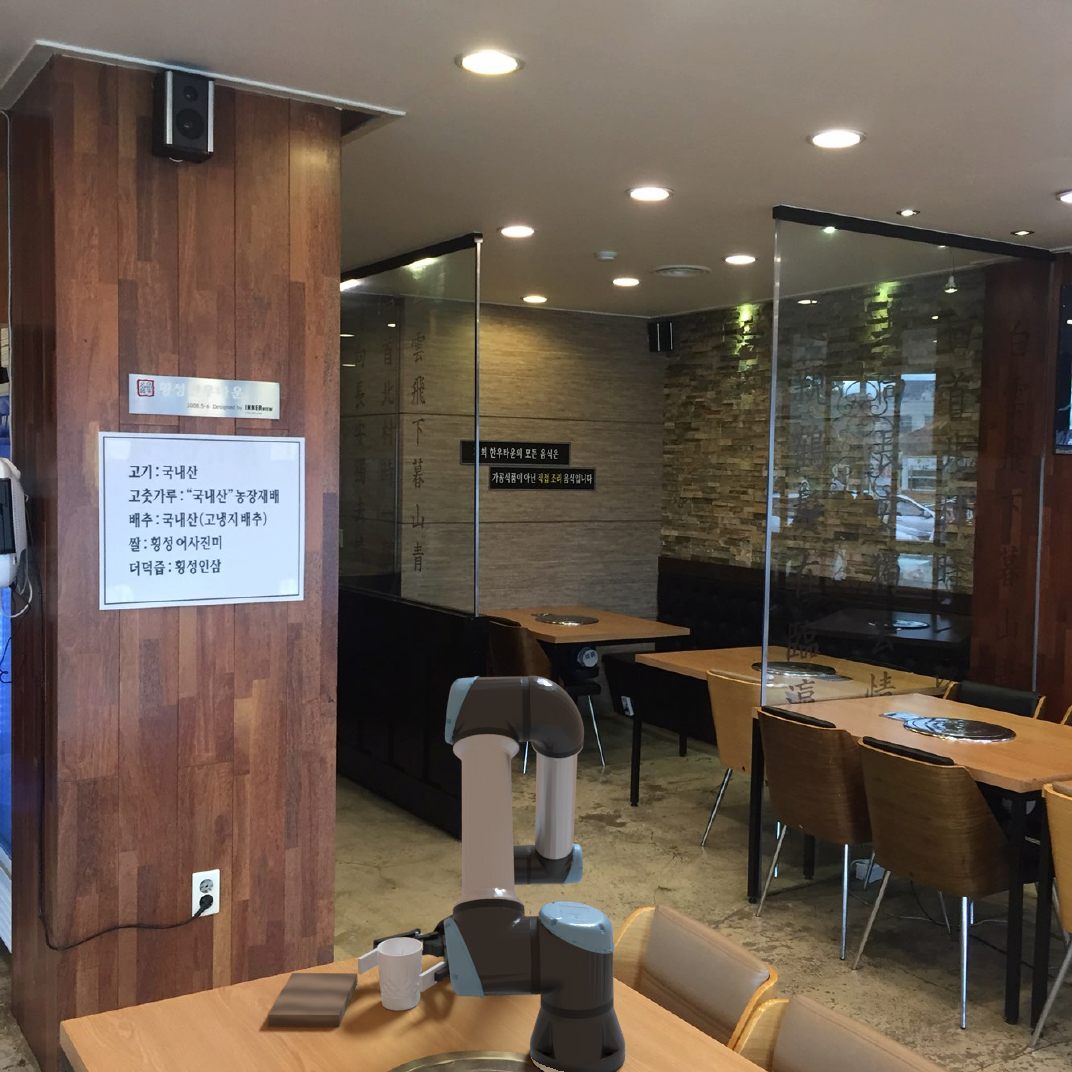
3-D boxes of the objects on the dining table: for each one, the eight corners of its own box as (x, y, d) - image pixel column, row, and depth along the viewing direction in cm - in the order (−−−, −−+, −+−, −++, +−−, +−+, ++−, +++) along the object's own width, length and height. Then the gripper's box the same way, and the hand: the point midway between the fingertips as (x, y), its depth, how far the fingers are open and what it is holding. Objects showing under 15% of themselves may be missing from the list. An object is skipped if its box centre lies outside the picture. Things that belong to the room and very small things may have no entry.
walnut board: (339, 1026, 184) (338, 1014, 184) (268, 1026, 185) (268, 1014, 185) (357, 984, 200) (357, 973, 200) (292, 983, 201) (292, 973, 201)
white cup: (415, 1014, 188) (414, 957, 188) (371, 1010, 190) (370, 953, 190) (428, 994, 196) (428, 938, 196) (386, 990, 198) (386, 935, 197)
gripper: (516, 966, 202) (447, 1013, 184) (409, 938, 215) (335, 979, 197) (516, 926, 202) (447, 969, 184) (409, 901, 215) (335, 938, 197)
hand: (389, 974), depth 190 cm, fingers open, 13 cm apart
